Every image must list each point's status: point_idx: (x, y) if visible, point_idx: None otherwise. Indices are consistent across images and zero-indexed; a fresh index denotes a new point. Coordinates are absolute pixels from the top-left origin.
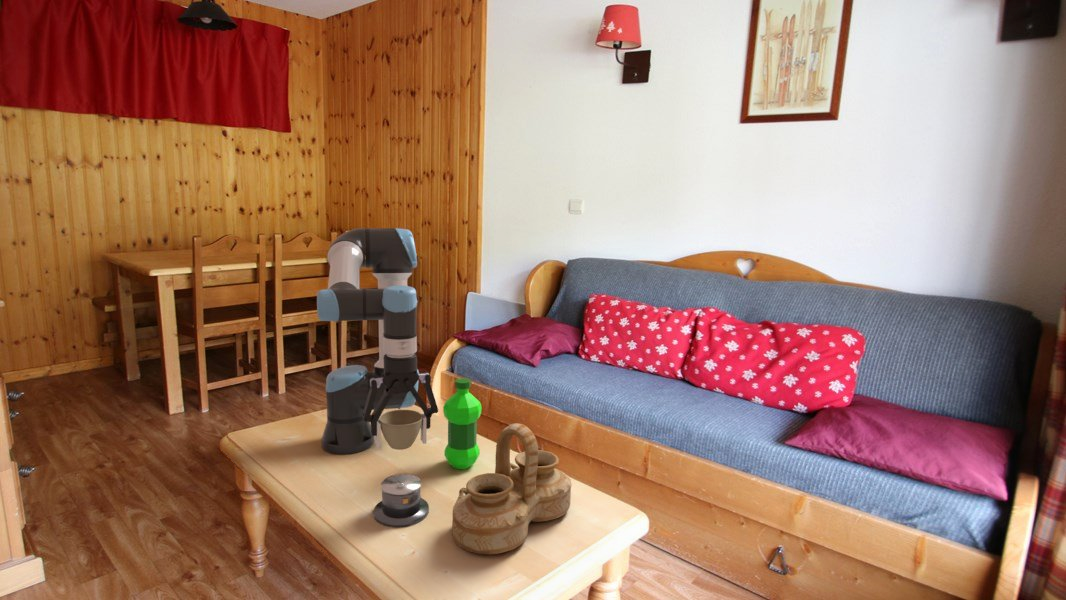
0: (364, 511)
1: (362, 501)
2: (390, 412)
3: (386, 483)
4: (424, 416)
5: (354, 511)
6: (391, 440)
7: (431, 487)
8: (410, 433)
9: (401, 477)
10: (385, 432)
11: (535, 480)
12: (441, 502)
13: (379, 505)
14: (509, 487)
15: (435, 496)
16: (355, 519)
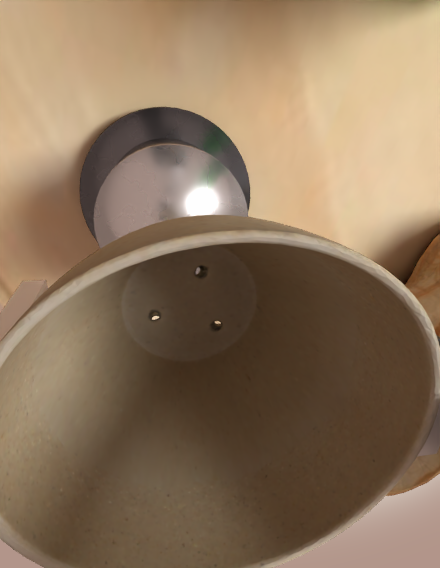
0: (50, 150)
1: (40, 72)
2: (133, 263)
3: (116, 209)
4: (436, 432)
5: (14, 138)
6: (119, 420)
7: (297, 64)
8: (247, 480)
9: (183, 178)
10: (67, 462)
11: None
12: (291, 180)
13: (100, 157)
14: (430, 477)
15: (288, 136)
16: (22, 191)
